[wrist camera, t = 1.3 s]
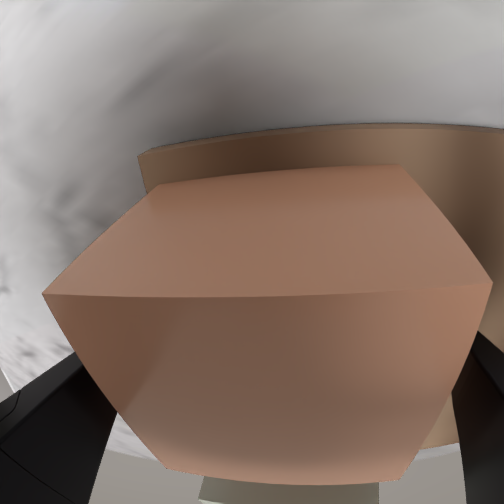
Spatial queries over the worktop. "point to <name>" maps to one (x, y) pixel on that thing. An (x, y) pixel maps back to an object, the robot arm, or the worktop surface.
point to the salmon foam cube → (278, 322)
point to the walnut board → (377, 153)
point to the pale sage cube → (285, 493)
